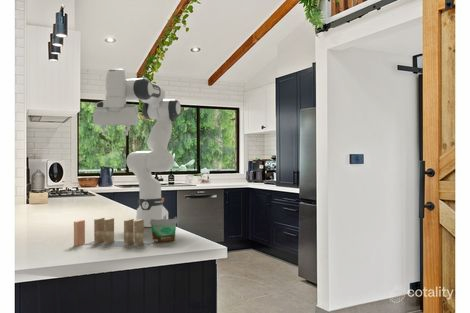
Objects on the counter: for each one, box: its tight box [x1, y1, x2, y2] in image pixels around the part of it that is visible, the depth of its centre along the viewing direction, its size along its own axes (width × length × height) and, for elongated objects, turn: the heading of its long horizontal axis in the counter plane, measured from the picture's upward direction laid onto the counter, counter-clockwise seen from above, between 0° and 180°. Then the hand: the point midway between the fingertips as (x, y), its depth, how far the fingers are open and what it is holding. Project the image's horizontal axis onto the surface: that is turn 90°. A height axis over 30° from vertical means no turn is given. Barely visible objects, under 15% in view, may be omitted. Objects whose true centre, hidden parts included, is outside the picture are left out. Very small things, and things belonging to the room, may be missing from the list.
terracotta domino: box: [73, 219, 86, 247], centre depth 168 cm, size 2×5×10 cm, turn 166°
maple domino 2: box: [104, 217, 115, 245], centre depth 170 cm, size 2×5×10 cm, turn 165°
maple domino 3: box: [123, 218, 135, 246], centre depth 168 cm, size 2×5×10 cm, turn 165°
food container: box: [150, 216, 179, 244], centre depth 173 cm, size 12×6×10 cm, turn 126°
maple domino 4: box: [134, 219, 145, 246], centre depth 167 cm, size 2×5×10 cm, turn 165°
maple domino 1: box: [93, 217, 105, 244], centre depth 171 cm, size 2×5×10 cm, turn 165°
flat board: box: [83, 240, 154, 249], centre depth 169 cm, size 10×26×1 cm, turn 75°
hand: (115, 135), depth 185 cm, fingers open, 8 cm apart
